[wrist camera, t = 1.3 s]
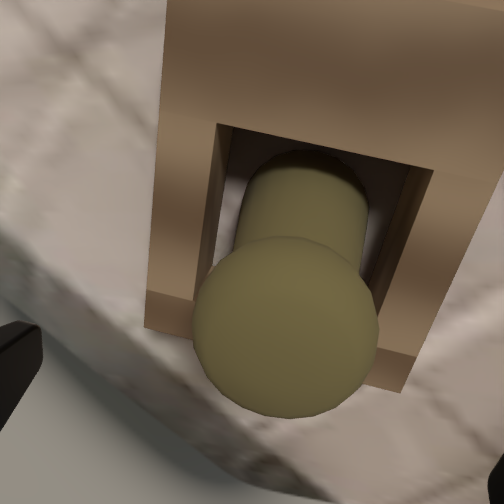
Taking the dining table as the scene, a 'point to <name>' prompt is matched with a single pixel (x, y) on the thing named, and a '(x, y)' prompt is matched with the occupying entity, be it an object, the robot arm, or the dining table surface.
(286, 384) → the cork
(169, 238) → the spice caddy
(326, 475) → the dining table surface
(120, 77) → the dining table surface
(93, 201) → the dining table surface
